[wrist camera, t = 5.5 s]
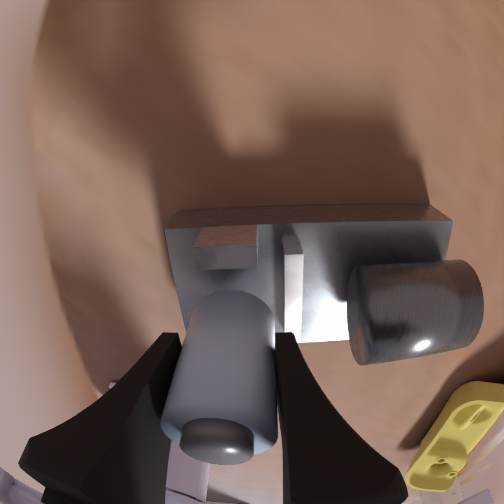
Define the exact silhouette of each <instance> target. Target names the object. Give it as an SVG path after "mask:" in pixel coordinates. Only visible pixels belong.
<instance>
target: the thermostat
mask: <svg viewBox="0 0 504 504" xmlns="http://www.w3.org/2000/svg"><path fill="white" fill-rule="evenodd" d="M205 503H206V504H236V503H222V502H212V501H206V502H205Z"/></svg>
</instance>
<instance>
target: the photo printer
mask: <svg viewBox="0 0 504 504" xmlns="http://www.w3.org/2000/svg"><path fill="white" fill-rule="evenodd" d="M419 491H420V496H421V500H422V504H457V503H459V502H461V501H463V500H464V497H463V493H462V490H461V486H460V483H459V480H458V477H457V476H456V479H455V481H454V483H453V485H452V486H451V487H450V488H449V489H448V490H446V491H445V492H433V491H423V490H419Z"/></svg>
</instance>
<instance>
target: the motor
mask: <svg viewBox="0 0 504 504" xmlns="http://www.w3.org/2000/svg"><path fill="white" fill-rule="evenodd" d="M452 223H453V221H452V220H451V219H450V218H448V217H447V216H446V215H444V214H443V213H441V212H440V211H439V210H437V209H436V208H434V207H433V206H432V205H414V204H333V205H291V206H263V207H241V208H222V209H205V210H190V211H178V212H177V213H176V215H175V216H174V217H173V219H172V220H171V221H170V223H169V224H168V225H167V227H166V228H165V229H164V231H165V236H166V242H167V247H168V252H169V257H170V262H171V267H172V272H173V277H174V281H175V286H176V291H177V295H178V299H179V304H180V308H181V312H182V316H183V321H184V325H185V329H186V332H187V329H188V326H189V322H190V319H191V316H192V313H193V310H194V308H195V306H196V304H197V303H198V302H199V301H200V300H201V299H202V298H204V297H205V296H207V295H209V294H211V293H213V292H216V291H221V290H239V291H243V292H247V293H250V294H252V295H254V296H256V297H258V298H259V299H261V300H262V301H263V302H265V303H266V305H267V306H268V307H269V308H270V310H271V311H272V313H273V316H274V320H275V333H277V332H292V333H294V335H295V338H296V341H297V343H305V342H321V341H334V340H346V339H349V342H350V346H351V350H352V353H353V356H354V358H355V360H356V362H357V363H358V364H359V365H369V364H377V363H384V362H391V361H397V360H403V359H409V358H415V357H421V356H426V355H431V354H436V353H441V352H446V351H451V350H455V349H459V348H464V347H466V346H468V345H470V344H471V343H472V342H473V341H474V339H475V338H476V336H477V334H478V332H479V330H480V327H481V324H482V319H483V312H484V299H483V292H482V287H481V283H480V281H479V278H478V276H477V274H476V272H475V271H474V269H473V268H472V267H471V266H470V265H469V264H468V263H467V262H465V261H463V260H445V257H446V253H447V249H448V244H449V239H450V234H451V229H452Z"/></svg>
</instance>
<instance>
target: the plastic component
mask: <svg viewBox="0 0 504 504" xmlns="http://www.w3.org/2000/svg"><path fill="white" fill-rule="evenodd" d="M503 409H504V384H497V383H489V382H482V381H471V382H467V383H465V384H463V385H461V386H460V387H459V388H457V389H456V390H455V391H454V392H453V394H452V395H451V397H450V398H449V400H448V402H447V403H446V405H445V407H444V408H443V410H442V412H441V413H440V415H439V416H438V418H437V419H436V421H435V422H434V424H433V425H432V427H431V428H430V430H429V431H428V433H427V434H426V436H425V437H424V438H423V440H422V441H421V444H420V449H419V451H418V453H417V454H416V456H415V457H414V459H413V460H412V462H411V464H410V467H409V469H408V471H407V474H406V477H405V482H406V484H407V485H408V486H410V487H412V488H414V489H417V490H423V491H433V492H445V491H446V490H448V489H449V488H450V487H451V486H452V485H453V483H454V481H455V479H456V476H457V474H458V472H459V471H460V470H461V469H462V468H463V466H464V465H465V463H466V460H467V455H468V453H469V452H470V451H471V450H472V449H473V447H474V446H475V445H476V444H477V443H478V442H479V440H480V439H481V438H482V437H483V436H484V434H485V433H486V432H487V431H488V429H489V428H490V427H491V426H492V424H493V423H494V422H495V420H496V419H497V418H498V416H499V415H500V414H501V412H502V411H503Z"/></svg>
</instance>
